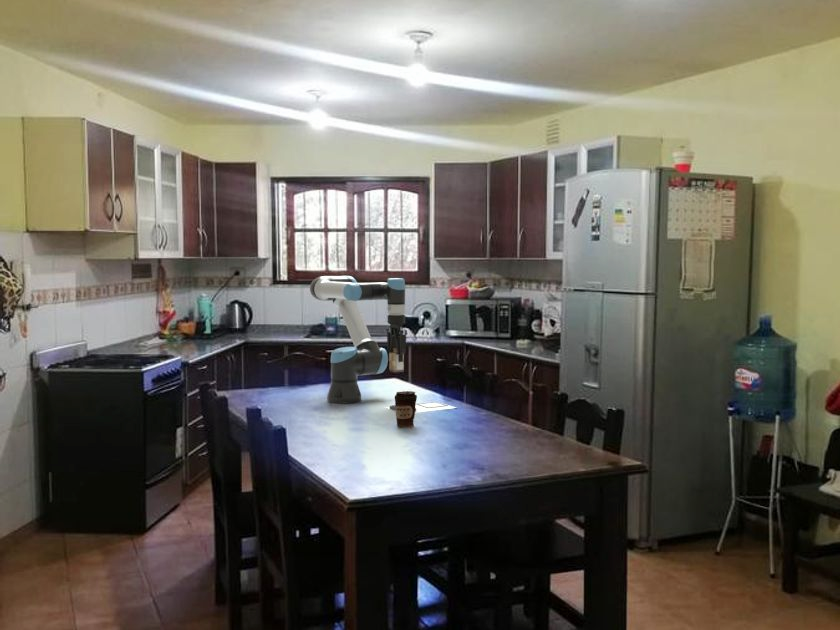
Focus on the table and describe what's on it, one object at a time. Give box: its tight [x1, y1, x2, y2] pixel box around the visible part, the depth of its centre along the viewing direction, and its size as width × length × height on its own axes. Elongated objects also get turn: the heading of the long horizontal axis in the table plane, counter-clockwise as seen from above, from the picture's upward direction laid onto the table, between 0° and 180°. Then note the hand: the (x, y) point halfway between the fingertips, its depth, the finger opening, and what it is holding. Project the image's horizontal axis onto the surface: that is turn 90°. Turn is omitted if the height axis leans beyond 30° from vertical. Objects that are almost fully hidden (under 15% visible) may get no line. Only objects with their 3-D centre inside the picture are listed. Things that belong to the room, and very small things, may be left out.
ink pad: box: [389, 404, 416, 412], centre depth 316 cm, size 10×7×2 cm
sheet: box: [383, 400, 457, 414], centre depth 322 cm, size 17×26×1 cm, turn 121°
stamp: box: [388, 347, 405, 373], centre depth 327 cm, size 4×4×10 cm
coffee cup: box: [394, 390, 418, 428], centre depth 286 cm, size 9×8×13 cm
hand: (396, 368), depth 328 cm, fingers closed on stamp, 4 cm apart
